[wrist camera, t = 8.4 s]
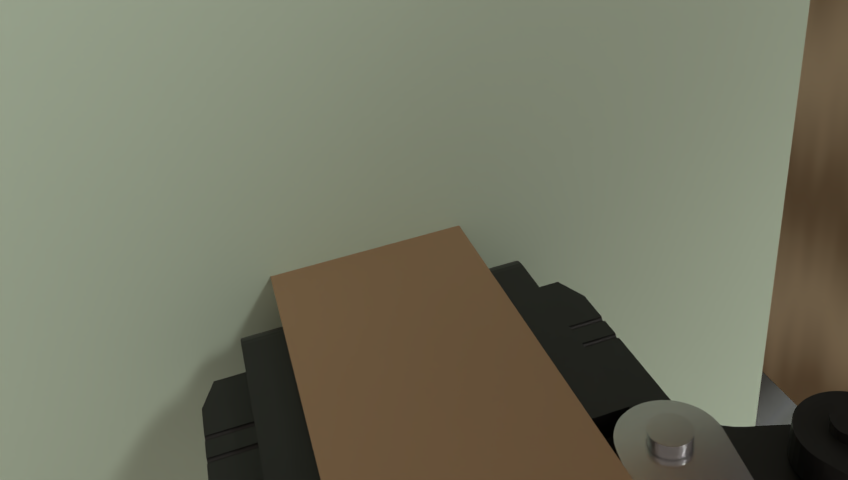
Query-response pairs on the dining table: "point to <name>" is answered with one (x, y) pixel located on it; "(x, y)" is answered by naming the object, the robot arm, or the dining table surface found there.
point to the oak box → (815, 222)
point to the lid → (380, 220)
